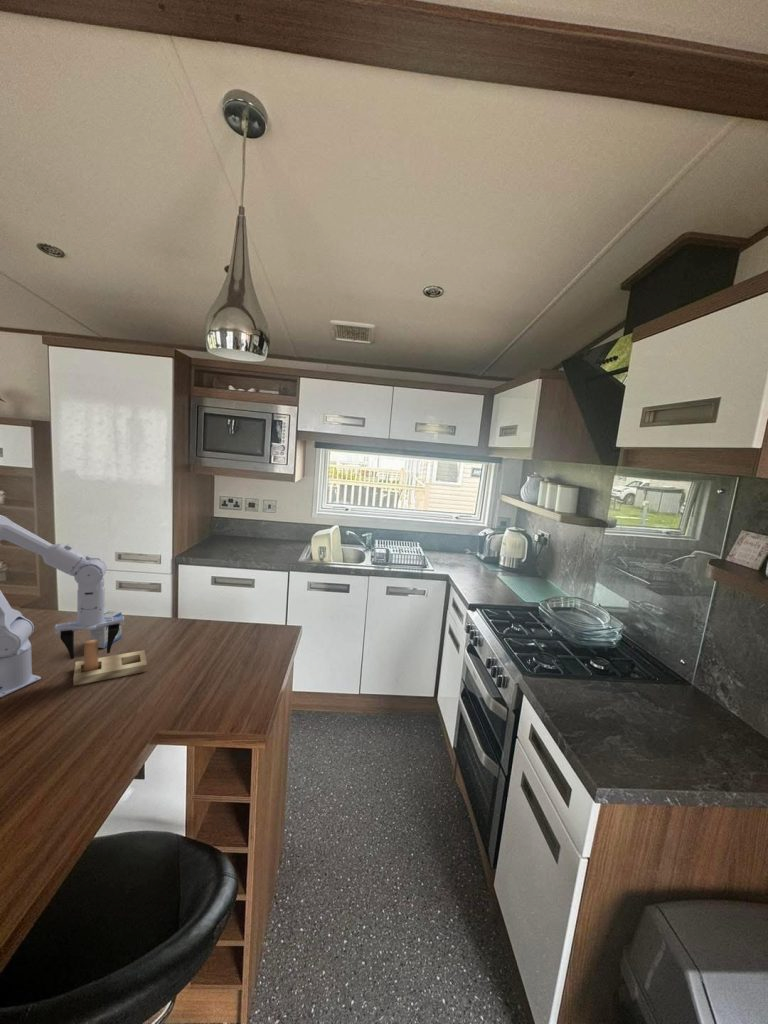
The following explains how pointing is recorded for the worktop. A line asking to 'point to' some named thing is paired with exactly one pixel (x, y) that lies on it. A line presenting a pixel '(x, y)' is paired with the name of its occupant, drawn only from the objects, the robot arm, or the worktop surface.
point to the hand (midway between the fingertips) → (90, 654)
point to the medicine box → (105, 631)
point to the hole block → (111, 667)
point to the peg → (90, 655)
